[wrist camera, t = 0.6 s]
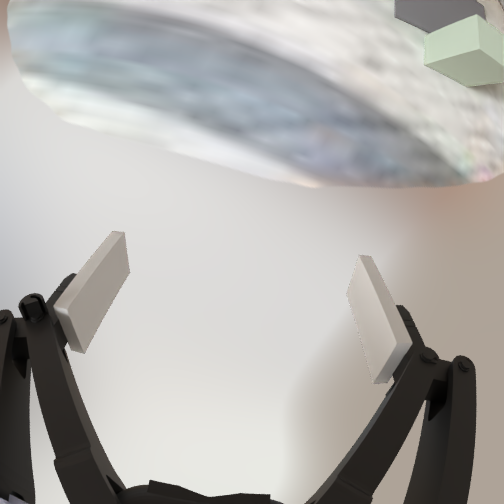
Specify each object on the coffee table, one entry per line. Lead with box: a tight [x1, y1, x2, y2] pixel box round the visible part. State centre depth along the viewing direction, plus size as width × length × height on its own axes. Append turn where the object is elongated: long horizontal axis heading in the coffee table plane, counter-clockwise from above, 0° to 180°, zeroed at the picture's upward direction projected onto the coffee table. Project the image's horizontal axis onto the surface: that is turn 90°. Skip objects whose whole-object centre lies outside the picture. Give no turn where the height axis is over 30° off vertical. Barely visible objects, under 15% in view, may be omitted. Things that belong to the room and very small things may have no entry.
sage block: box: [424, 14, 504, 87], centre depth 29 cm, size 6×10×14 cm, turn 82°
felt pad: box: [395, 0, 486, 33], centre depth 31 cm, size 16×22×1 cm
